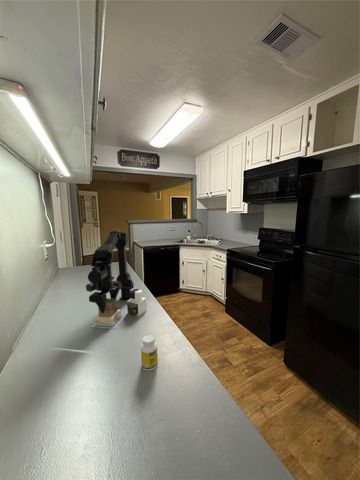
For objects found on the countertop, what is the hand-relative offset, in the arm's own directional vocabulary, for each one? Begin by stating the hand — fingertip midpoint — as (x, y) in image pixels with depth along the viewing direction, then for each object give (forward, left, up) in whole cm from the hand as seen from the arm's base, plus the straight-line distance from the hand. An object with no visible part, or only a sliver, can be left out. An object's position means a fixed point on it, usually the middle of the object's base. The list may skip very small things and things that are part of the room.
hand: (108, 307), depth 94 cm
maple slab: (0, 0, -7) cm, 7 cm away
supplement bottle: (+23, +28, -7) cm, 37 cm away
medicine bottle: (-11, +10, -7) cm, 16 cm away
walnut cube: (0, 0, -3) cm, 3 cm away
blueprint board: (0, 0, -7) cm, 7 cm away
